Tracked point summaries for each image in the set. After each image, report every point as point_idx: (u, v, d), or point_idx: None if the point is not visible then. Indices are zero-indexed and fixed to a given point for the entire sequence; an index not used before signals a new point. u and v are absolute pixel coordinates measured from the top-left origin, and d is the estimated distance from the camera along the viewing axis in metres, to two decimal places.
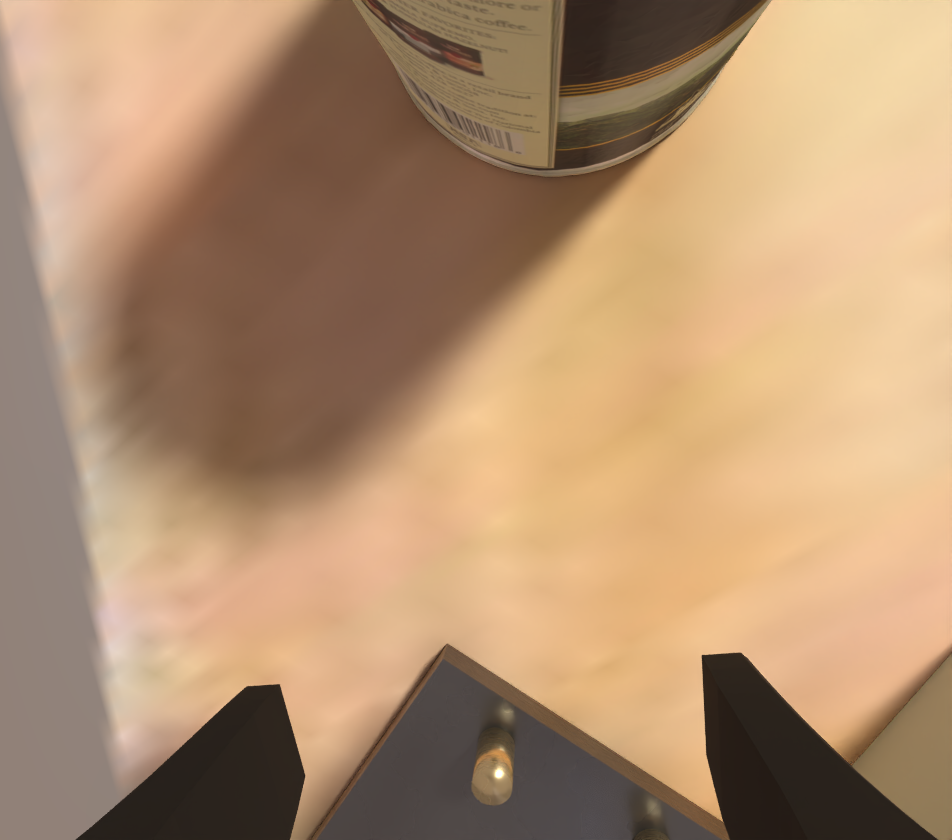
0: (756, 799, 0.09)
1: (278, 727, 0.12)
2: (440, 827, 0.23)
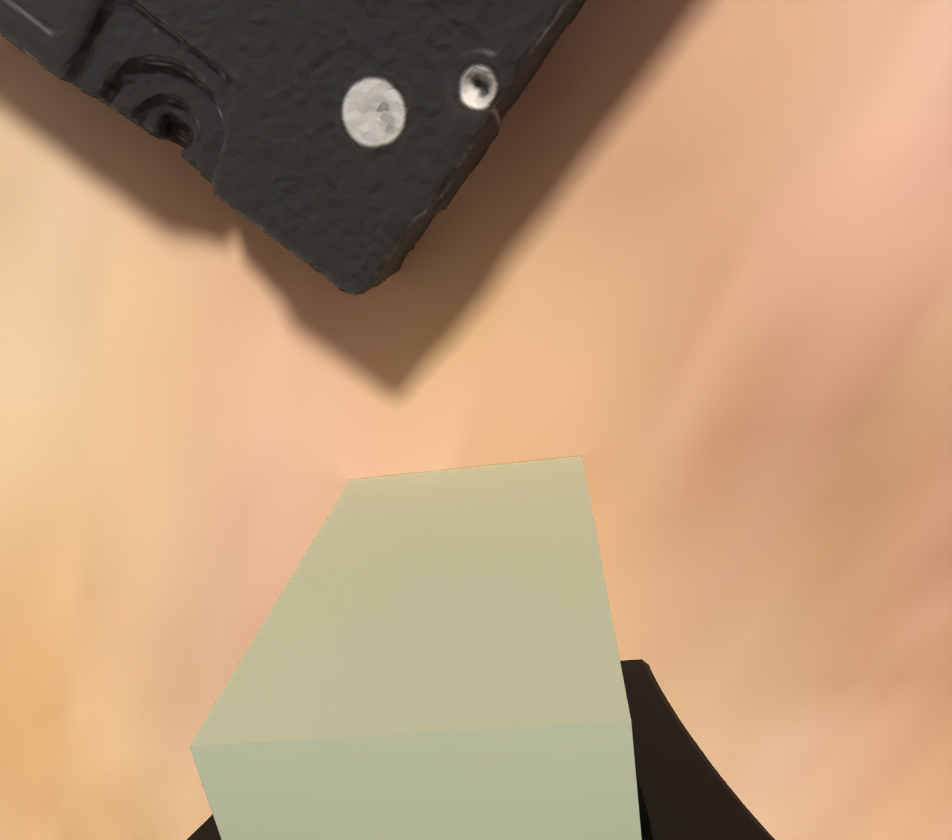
0: None
1: None
2: None
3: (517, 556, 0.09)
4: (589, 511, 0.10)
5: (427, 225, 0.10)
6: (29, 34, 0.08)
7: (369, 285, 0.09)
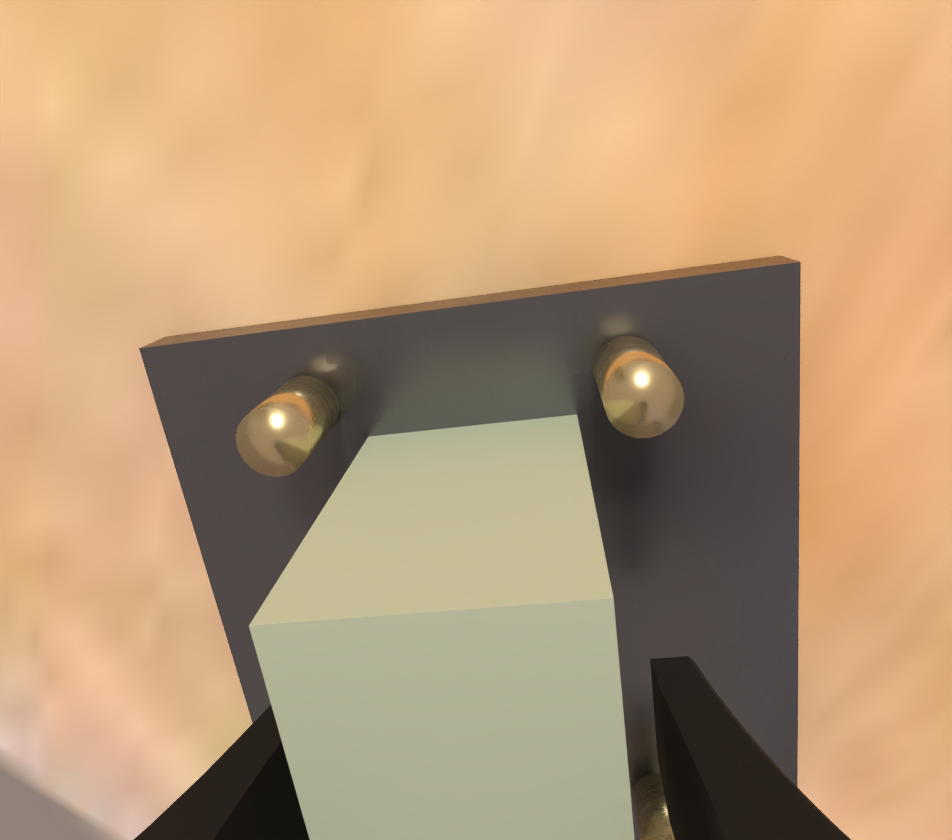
0: (691, 802, 0.09)
1: None
2: None
3: (520, 490, 0.10)
4: (582, 456, 0.11)
5: None
6: None
7: None
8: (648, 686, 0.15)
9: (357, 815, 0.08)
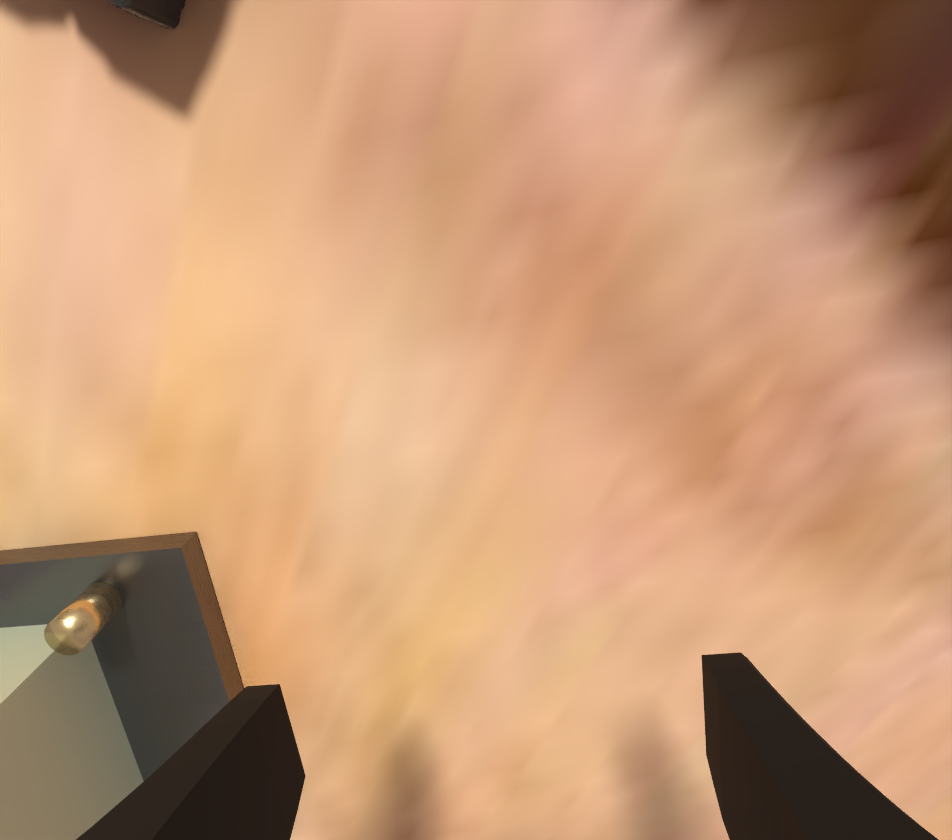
0: (756, 799, 0.09)
1: (278, 728, 0.12)
2: None
3: None
4: (39, 663, 0.20)
5: None
6: None
7: (132, 1, 0.15)
8: None
9: None
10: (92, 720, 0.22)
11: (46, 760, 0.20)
